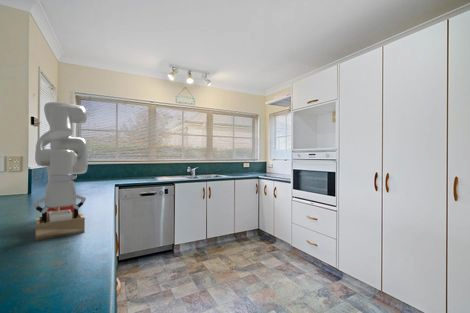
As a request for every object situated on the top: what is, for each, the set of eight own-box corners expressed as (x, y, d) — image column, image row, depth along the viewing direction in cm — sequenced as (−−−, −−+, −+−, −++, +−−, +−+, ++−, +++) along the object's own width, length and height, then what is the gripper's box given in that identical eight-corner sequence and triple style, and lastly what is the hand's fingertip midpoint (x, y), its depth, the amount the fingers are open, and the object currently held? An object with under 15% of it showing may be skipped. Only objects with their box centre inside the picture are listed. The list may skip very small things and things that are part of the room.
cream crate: (49, 228, 92) (49, 211, 93) (69, 225, 97) (70, 209, 97) (49, 234, 86) (49, 216, 86) (71, 230, 90) (72, 213, 90)
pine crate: (36, 231, 92) (36, 217, 92) (80, 224, 102) (80, 211, 102) (35, 241, 81) (35, 224, 81) (84, 232, 91) (84, 217, 91)
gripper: (84, 177, 100) (84, 215, 100) (33, 179, 89) (32, 222, 89) (87, 178, 95) (86, 218, 94) (32, 181, 83) (31, 226, 83)
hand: (60, 220), depth 91 cm, fingers open, 9 cm apart
